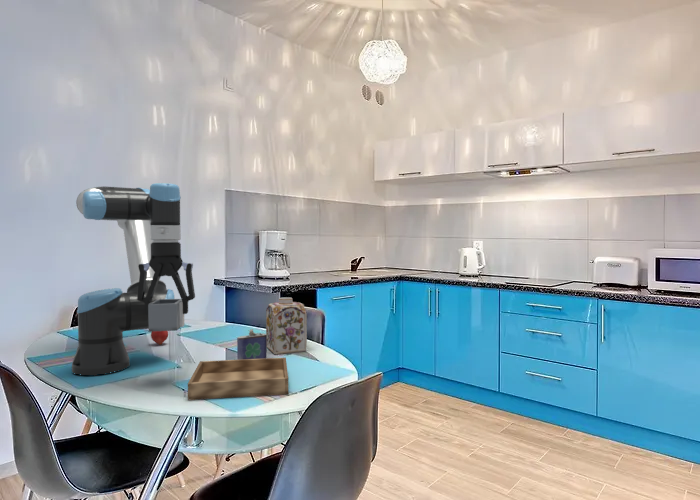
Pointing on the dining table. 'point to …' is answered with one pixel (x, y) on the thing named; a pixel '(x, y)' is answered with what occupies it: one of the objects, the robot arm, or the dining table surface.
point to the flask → (252, 346)
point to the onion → (159, 336)
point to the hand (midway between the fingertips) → (167, 326)
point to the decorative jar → (286, 326)
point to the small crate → (164, 315)
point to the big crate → (239, 378)
